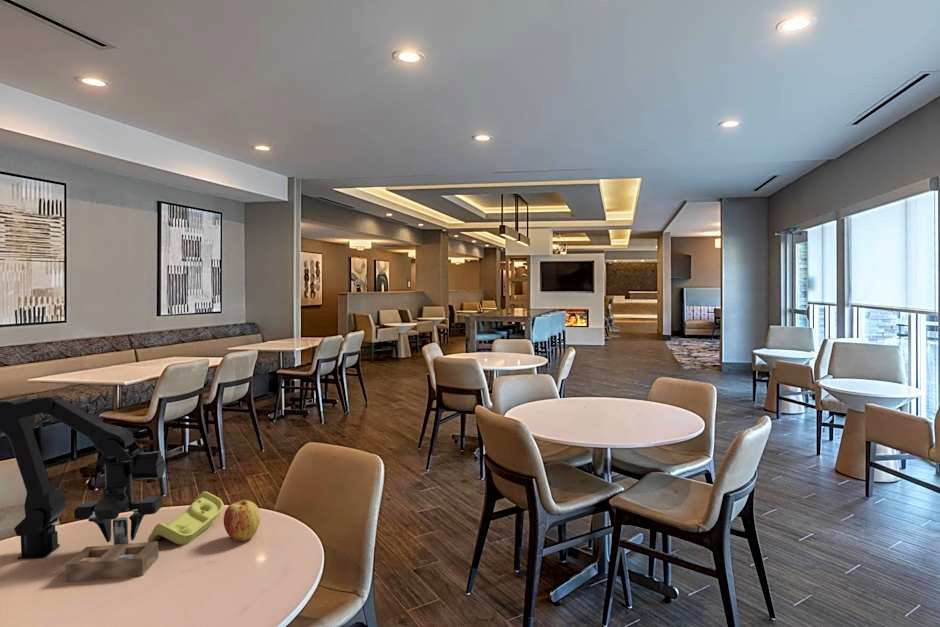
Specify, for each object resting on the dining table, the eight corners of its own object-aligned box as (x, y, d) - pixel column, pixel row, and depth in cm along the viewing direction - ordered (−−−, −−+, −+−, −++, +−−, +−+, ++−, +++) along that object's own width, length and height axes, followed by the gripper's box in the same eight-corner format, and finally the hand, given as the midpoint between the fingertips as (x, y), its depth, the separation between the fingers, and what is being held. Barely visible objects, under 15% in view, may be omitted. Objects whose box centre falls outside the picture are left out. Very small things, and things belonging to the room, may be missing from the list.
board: (65, 582, 125) (65, 563, 125) (86, 563, 134) (86, 545, 134) (142, 575, 128) (142, 556, 128) (158, 557, 137) (157, 540, 137)
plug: (111, 549, 141) (110, 522, 141) (117, 544, 144) (116, 517, 144) (125, 548, 142) (124, 521, 142) (130, 543, 145) (129, 516, 145)
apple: (228, 533, 150) (226, 496, 150) (263, 529, 152) (262, 493, 152) (221, 547, 141) (220, 508, 141) (259, 543, 143) (257, 505, 143)
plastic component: (187, 538, 142) (153, 520, 143) (178, 562, 143) (144, 544, 144) (230, 503, 162) (200, 488, 163) (221, 525, 163) (192, 509, 164)
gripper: (60, 493, 133) (63, 558, 134) (145, 488, 136) (147, 551, 137) (85, 478, 144) (87, 538, 145) (162, 474, 147) (164, 532, 148)
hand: (120, 540), depth 143 cm, fingers open, 5 cm apart
